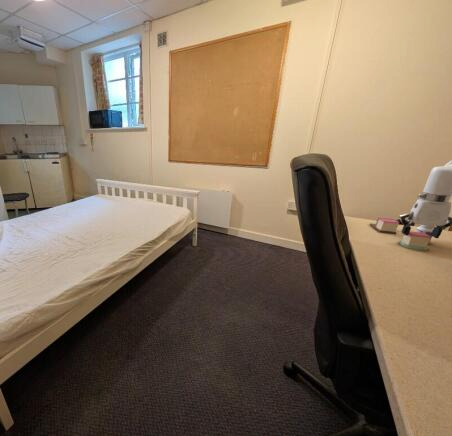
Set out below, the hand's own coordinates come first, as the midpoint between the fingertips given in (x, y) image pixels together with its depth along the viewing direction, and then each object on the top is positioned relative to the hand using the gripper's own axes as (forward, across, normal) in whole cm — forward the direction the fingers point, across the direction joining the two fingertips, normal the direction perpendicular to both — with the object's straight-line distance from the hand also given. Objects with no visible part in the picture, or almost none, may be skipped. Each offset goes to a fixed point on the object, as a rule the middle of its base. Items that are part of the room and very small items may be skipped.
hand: (419, 235), depth 95 cm
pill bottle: (+6, +6, +7) cm, 11 cm away
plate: (+5, -1, 0) cm, 5 cm away
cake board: (+5, -3, +19) cm, 20 cm away
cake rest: (+4, -3, +17) cm, 17 cm away
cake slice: (+4, -1, 0) cm, 4 cm away
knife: (+4, +1, +19) cm, 20 cm away
